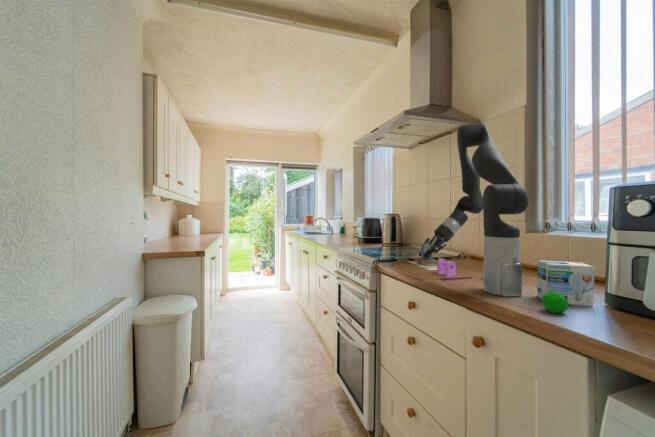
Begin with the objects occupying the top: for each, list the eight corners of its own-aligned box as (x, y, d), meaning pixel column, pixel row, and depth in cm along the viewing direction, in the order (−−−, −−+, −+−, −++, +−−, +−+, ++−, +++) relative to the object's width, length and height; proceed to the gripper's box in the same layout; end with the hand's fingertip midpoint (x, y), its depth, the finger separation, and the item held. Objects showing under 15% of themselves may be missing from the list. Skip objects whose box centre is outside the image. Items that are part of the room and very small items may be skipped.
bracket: (447, 280, 99) (447, 261, 99) (436, 277, 104) (437, 259, 104) (475, 278, 103) (475, 260, 103) (463, 275, 108) (464, 257, 108)
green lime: (569, 312, 67) (569, 293, 67) (566, 317, 64) (567, 297, 64) (543, 307, 71) (544, 289, 71) (539, 311, 67) (540, 292, 67)
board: (453, 272, 112) (453, 269, 112) (428, 273, 110) (428, 269, 110) (428, 263, 132) (428, 260, 132) (406, 264, 130) (406, 261, 130)
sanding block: (438, 266, 118) (438, 245, 118) (425, 266, 117) (426, 245, 117) (426, 262, 128) (426, 243, 128) (414, 262, 127) (414, 243, 127)
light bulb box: (546, 303, 74) (547, 263, 74) (535, 296, 81) (536, 259, 80) (595, 307, 71) (596, 266, 71) (579, 299, 77) (580, 261, 77)
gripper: (433, 223, 131) (409, 248, 129) (451, 224, 117) (424, 253, 115) (443, 234, 132) (419, 259, 130) (462, 236, 118) (436, 265, 116)
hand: (422, 256), depth 122 cm, fingers closed on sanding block, 3 cm apart
